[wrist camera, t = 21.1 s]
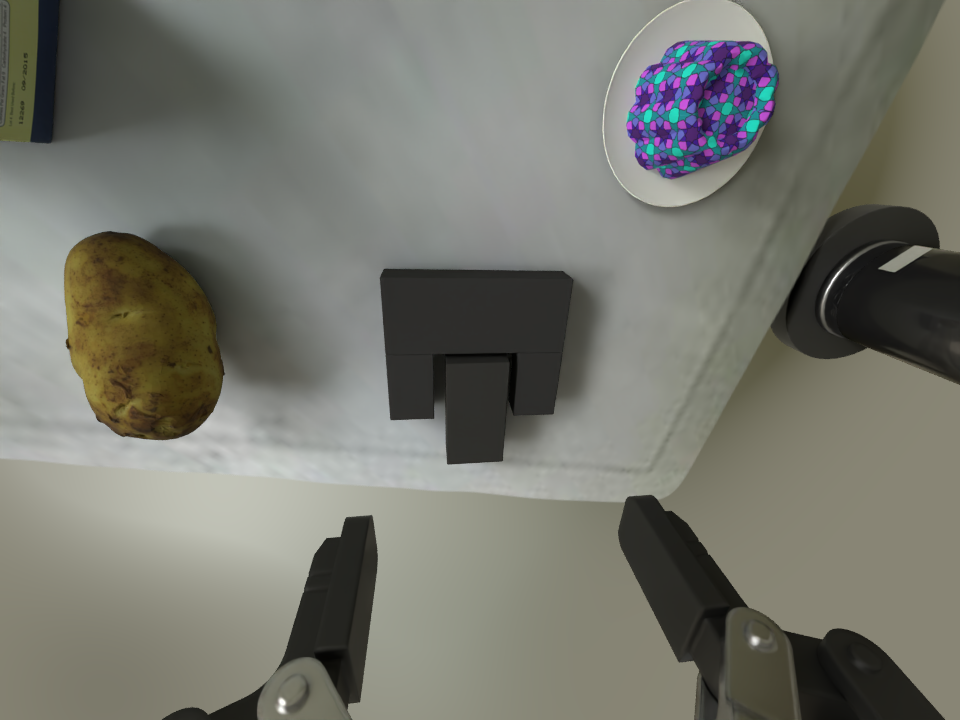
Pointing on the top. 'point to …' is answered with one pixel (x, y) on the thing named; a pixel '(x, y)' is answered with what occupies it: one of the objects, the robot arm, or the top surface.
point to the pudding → (688, 102)
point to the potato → (141, 337)
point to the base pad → (473, 331)
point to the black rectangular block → (475, 406)
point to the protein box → (27, 69)
